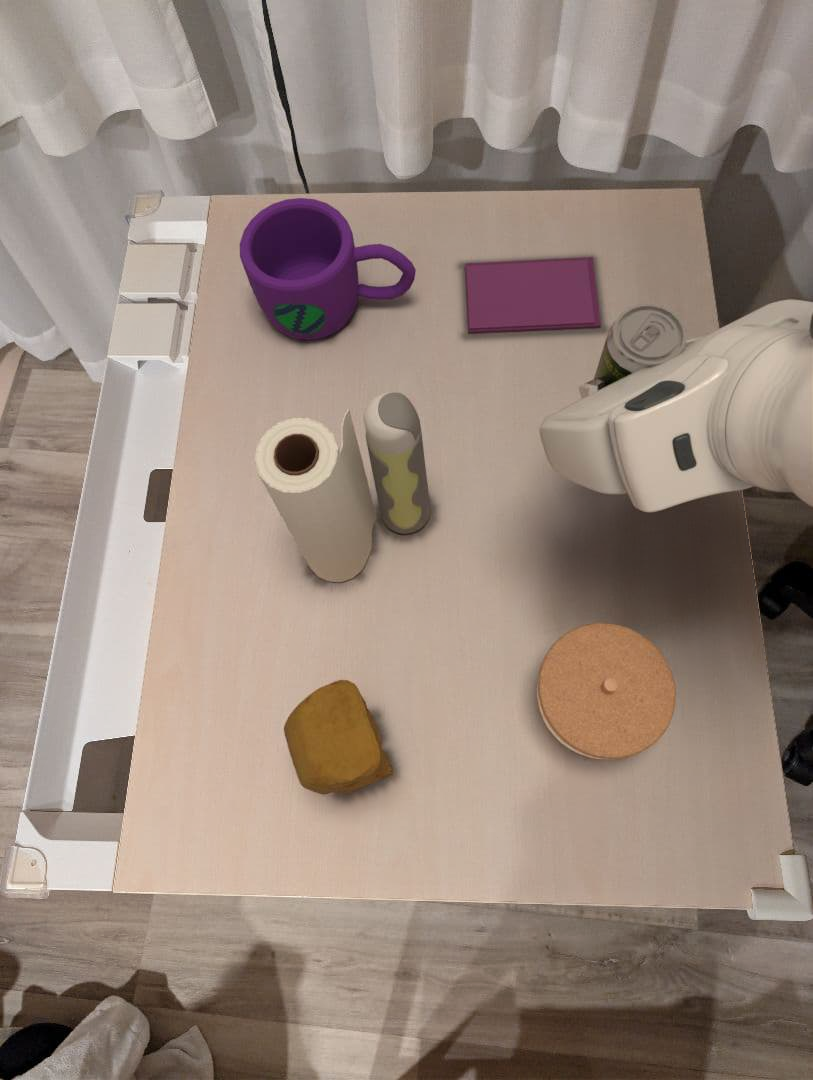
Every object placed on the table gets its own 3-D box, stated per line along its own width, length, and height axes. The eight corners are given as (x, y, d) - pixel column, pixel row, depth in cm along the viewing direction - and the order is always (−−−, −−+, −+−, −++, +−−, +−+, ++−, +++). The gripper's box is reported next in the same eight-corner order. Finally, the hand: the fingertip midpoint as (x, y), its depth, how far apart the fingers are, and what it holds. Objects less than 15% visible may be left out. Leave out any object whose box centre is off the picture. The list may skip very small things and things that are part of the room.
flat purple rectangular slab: (592, 259, 85) (593, 254, 84) (600, 327, 82) (601, 323, 81) (465, 265, 86) (465, 261, 85) (468, 333, 83) (468, 329, 82)
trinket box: (618, 790, 65) (643, 784, 57) (507, 723, 68) (515, 707, 59) (673, 682, 68) (705, 661, 60) (565, 622, 71) (581, 592, 62)
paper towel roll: (310, 588, 73) (257, 498, 53) (304, 530, 76) (250, 422, 56) (385, 576, 73) (359, 481, 53) (376, 518, 76) (348, 406, 56)
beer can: (619, 463, 62) (655, 381, 51) (568, 422, 63) (592, 334, 52) (662, 420, 63) (707, 331, 52) (611, 381, 65) (644, 287, 53)
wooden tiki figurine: (401, 780, 67) (386, 767, 53) (329, 809, 66) (296, 803, 52) (374, 704, 69) (353, 673, 55) (305, 731, 69) (266, 706, 55)
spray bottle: (379, 493, 77) (354, 384, 58) (427, 487, 76) (418, 376, 58) (383, 538, 75) (359, 441, 56) (433, 532, 75) (425, 433, 56)
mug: (255, 348, 83) (230, 287, 74) (267, 263, 87) (244, 195, 78) (415, 349, 82) (411, 287, 73) (420, 263, 86) (416, 194, 77)
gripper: (893, 277, 45) (734, 273, 57) (594, 432, 43) (495, 393, 55) (904, 376, 48) (749, 352, 60) (623, 527, 45) (523, 469, 58)
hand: (626, 372), depth 58 cm, fingers closed on beer can, 5 cm apart
